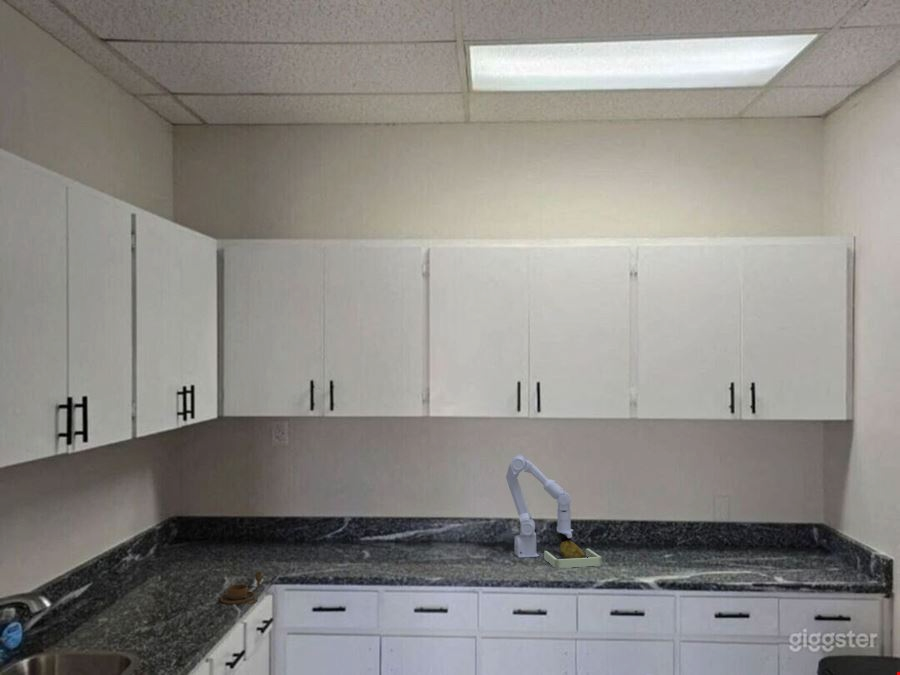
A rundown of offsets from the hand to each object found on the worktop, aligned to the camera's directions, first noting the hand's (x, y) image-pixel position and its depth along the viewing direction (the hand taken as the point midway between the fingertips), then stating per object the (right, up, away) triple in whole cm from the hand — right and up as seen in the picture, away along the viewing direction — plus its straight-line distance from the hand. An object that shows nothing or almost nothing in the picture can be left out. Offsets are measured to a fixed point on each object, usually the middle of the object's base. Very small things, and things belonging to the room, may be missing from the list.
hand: (564, 550), depth 307 cm
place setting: (-125, -2, -52) cm, 136 cm away
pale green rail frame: (+2, -2, -10) cm, 10 cm away
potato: (+2, -2, -8) cm, 8 cm away
